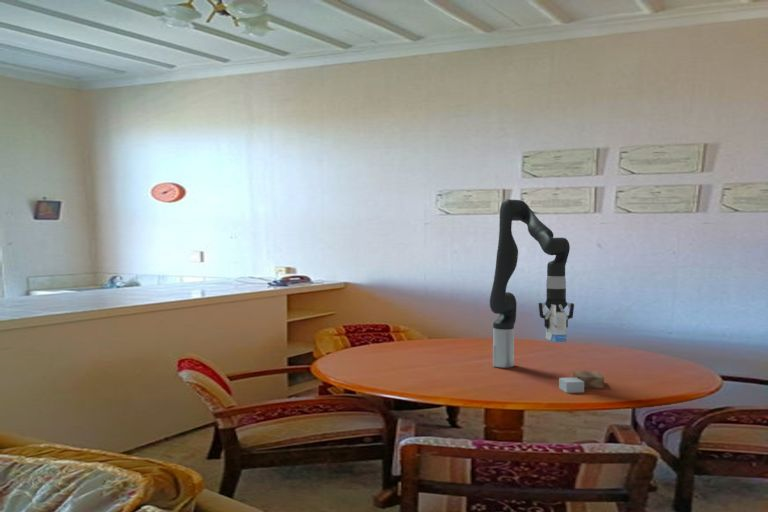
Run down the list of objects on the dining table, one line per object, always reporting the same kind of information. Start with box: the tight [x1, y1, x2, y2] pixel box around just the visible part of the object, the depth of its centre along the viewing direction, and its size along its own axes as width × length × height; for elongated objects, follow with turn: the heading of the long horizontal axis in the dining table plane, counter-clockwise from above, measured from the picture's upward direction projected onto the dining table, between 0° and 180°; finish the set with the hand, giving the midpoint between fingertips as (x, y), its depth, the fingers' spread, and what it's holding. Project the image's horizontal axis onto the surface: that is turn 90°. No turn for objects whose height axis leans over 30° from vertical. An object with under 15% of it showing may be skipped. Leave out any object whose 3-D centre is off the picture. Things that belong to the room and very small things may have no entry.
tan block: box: [572, 370, 605, 389], centre depth 243 cm, size 10×10×4 cm
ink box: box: [545, 304, 567, 343], centre depth 245 cm, size 8×5×15 cm, turn 14°
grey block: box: [558, 377, 585, 394], centre depth 234 cm, size 7×7×4 cm
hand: (556, 328), depth 245 cm, fingers closed on ink box, 6 cm apart
